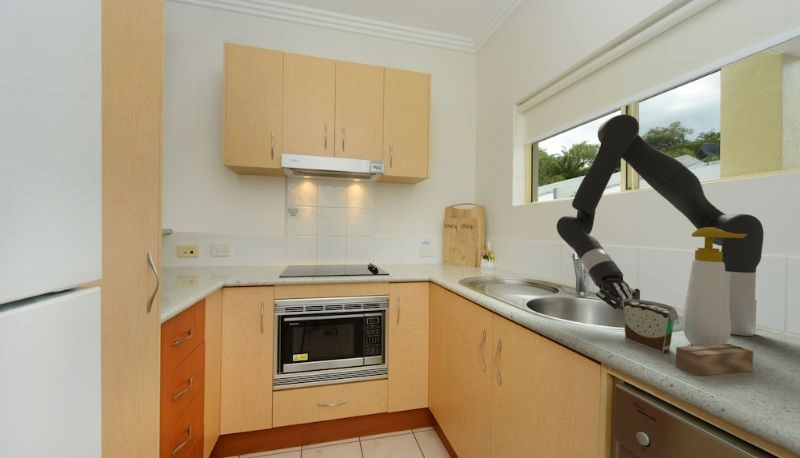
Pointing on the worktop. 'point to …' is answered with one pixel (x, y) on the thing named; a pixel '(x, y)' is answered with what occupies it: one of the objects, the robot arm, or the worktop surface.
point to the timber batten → (714, 359)
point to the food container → (649, 323)
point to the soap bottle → (708, 293)
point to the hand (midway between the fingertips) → (637, 322)
